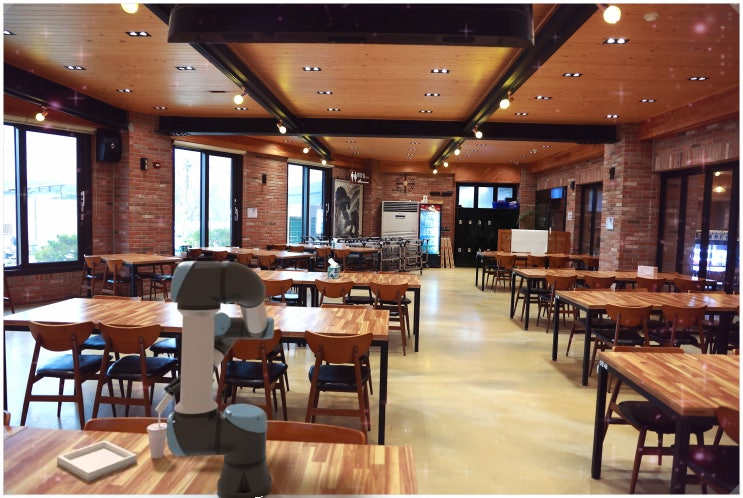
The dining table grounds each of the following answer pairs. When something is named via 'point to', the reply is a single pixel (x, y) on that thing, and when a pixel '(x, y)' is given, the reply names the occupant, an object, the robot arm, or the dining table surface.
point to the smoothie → (157, 438)
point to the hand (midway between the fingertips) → (170, 416)
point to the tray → (96, 460)
